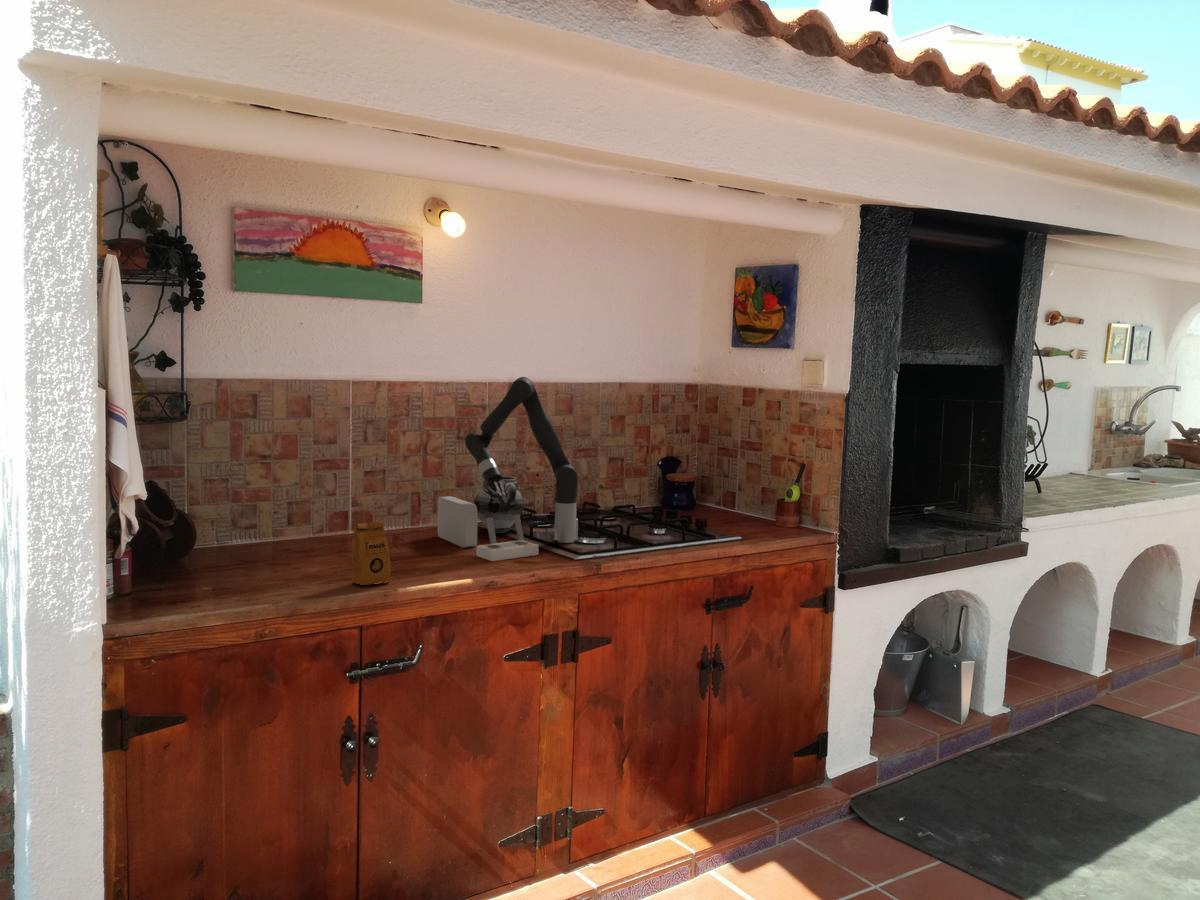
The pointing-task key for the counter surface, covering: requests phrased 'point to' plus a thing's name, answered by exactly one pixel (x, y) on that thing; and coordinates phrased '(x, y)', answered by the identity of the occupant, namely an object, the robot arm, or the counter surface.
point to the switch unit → (507, 550)
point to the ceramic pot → (499, 506)
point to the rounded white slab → (457, 521)
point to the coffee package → (370, 554)
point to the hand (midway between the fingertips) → (505, 504)
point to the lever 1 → (490, 527)
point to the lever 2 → (518, 523)
